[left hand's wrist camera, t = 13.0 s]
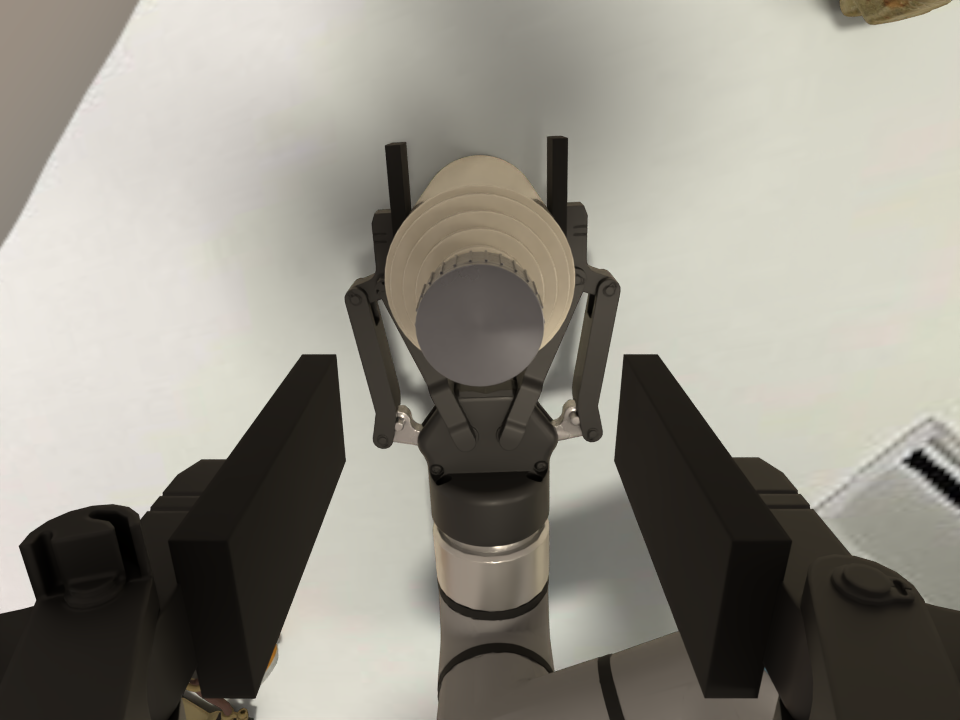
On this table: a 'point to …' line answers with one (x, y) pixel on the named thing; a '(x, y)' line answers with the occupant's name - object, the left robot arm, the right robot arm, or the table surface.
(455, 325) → the cap
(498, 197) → the bottle
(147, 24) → the table surface
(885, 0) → the sculpture
